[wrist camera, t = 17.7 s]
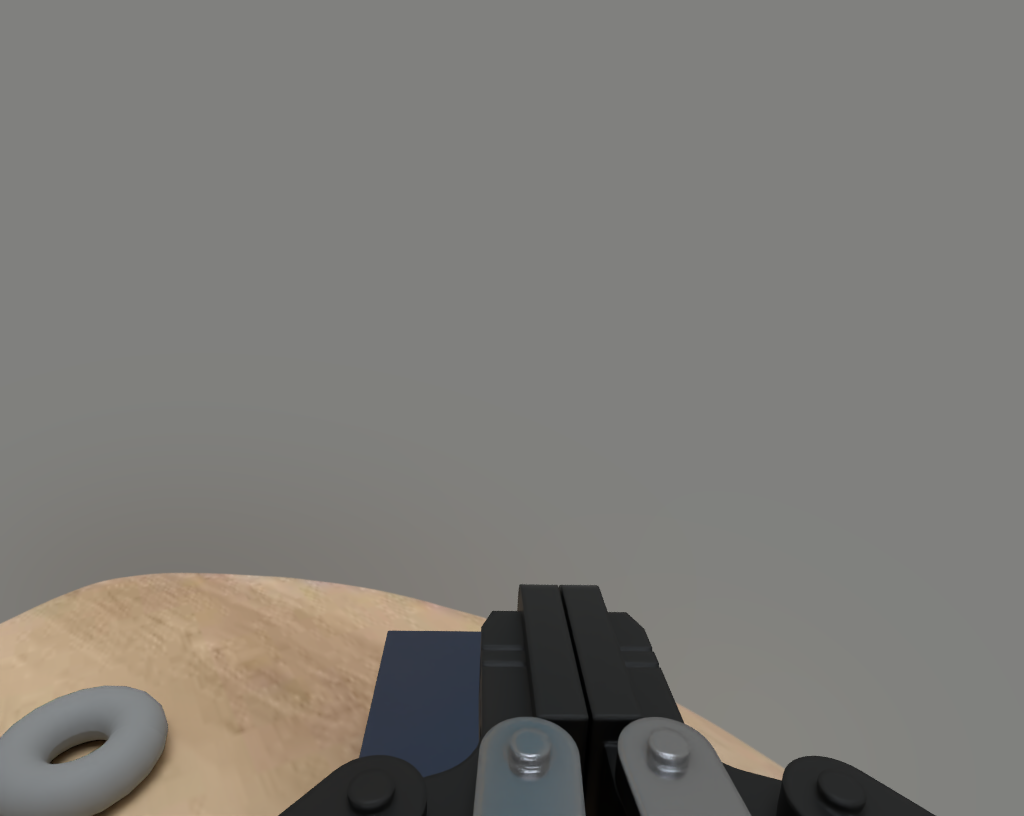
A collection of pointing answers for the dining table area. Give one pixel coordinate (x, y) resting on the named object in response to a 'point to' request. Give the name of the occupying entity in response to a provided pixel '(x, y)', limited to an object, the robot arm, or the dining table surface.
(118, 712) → the donut
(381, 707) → the lid
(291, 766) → the dining table surface
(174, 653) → the dining table surface
